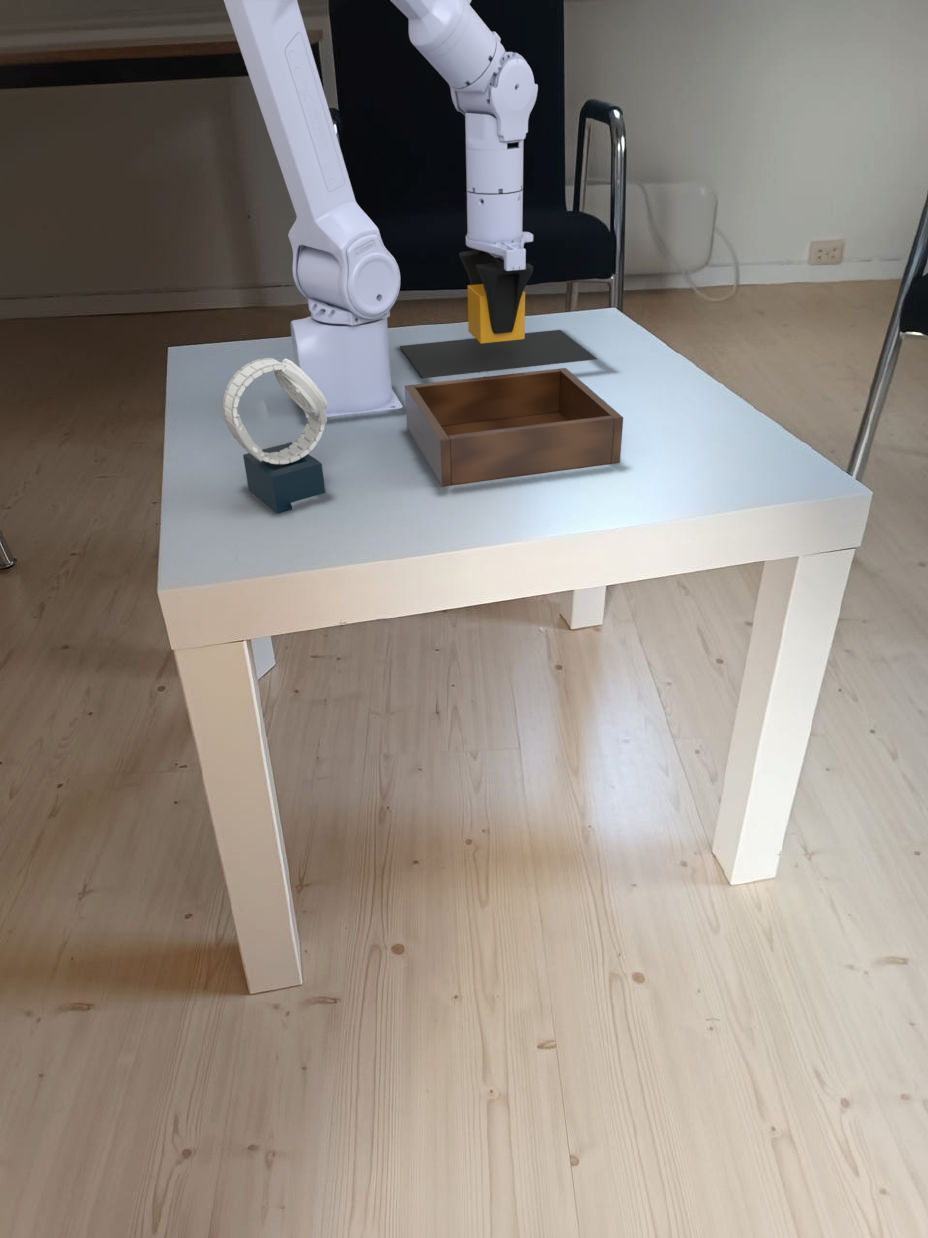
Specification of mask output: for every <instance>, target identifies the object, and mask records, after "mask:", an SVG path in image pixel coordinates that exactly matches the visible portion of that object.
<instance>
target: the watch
mask: <svg viewBox="0 0 928 1238" xmlns="http://www.w3.org/2000/svg"><path fill="white" fill-rule="evenodd" d="M272 371H273V372H274V376H275V378H276V380H277V382H278V384H279V385H280V387H281V388H282V389H283V390H284V392H285V393H286V394H287V396H289V398H290V399H291V400H292V401H293V402H294V403H295V404H296V405H297V406H298V407H299V408H301V410H303V413H304V415H305V414H306V415H308V414H309V417H308V418H307V423H306V425H305V426H304V428H303V431H302V433H300V435H299V437H298V438H297V439H296V441H294V442H293V441H290V442H287V443H282V444H279V445H275V446H271V447H267V448H263V447H261V446H260V445H258V444H257V443H255V441H254V440H253V438H252V437H251V435H250V434H249V432H248V430H247V428H246V427H245V425H244V423H243V421H242V418H241V416H240V413H238V407H239V403H240V399H241V398H240V397H241V396H242V395H243V393H244V392H245V390H246V388H247V387H248V386H249V385H250V384H251V383H252V382H253V381H254V380H255V379H257V378H258V377H260V376H262V375H264V374H266V373H269V372H272ZM222 400H223V401H222V410H223V415H224V418H223V421H224V423H225V425H226V427H227V429H228V430H229V432H230V434H231V435H232V436H233V438H234V439H235V441H237V443H238V444H239V445H240V446H241V447H242V448H243V449H244V450H245V451H247V452H248V453H244V454H242V456H243V457H242V458H243V462H244V469H245V476H246V482H247V488H248V491H249V492H251V493H252V494H253V495H254V496H256V497H257V498H258V499H259V500H261V501H262V502H263V503H264V504H265V505H267V506H268V508H270V509H271V510H273V512H275V513H276V514H281V513H284V512H287V511H290V510H293V506H292V503H295V502H299V501H301V500H306V499H309V498H312V497H315V496H318V495H323V494H326V489H325V487H326V486H325V479H324V471H323V462H321V461H319V460H318V459H316V458H315V457H314V456H312V455H311V454H310V452H312V450H313V449H315V447H317V445H318V442H320V440H321V438H322V437H323V434H324V430H325V427H326V423H327V422H328V417H327V415H326V411H325V409H327V408H328V402H327V400H326V398H325V397H324V395H323V394H322V392H321V391H320V389H319V388H318V387H317V386H316V384H315V383H314V382H313V381H312V380H311V379H310V377H309V376H308V375H307V374H306V373H305V372H304V371H303V370H302V369H301V368H299V367H298V366H297V365H296V364H295V362H294V361H292V360H290V359H289V358H284V359H283V360H282V361H279V360H277V359H275V358H273V357H264V358H258V359H254V360H252V361H250V362H248V363H246V364H244V365H243V366H241V367H240V369H239V368H238V370H236V372H235V373H234V374H233V376H232V378H231V379H230V380H229V382H228V383H227V386H226V389H225V390H224V394H223V399H222ZM306 415H305V416H306Z"/></svg>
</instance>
